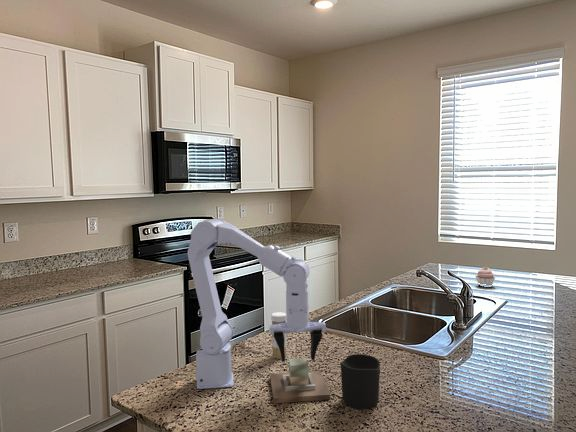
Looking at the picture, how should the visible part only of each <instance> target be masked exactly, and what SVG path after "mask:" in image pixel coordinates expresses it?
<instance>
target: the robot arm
mask: <svg viewBox="0 0 576 432" xmlns="http://www.w3.org/2000/svg"><path fill="white" fill-rule="evenodd" d="M218 244H219V245H221V244H223V245H224V244H233V245H234V246H236V247H238V248H240V249H242V250H243V251H246V252H248V253H249V254H251V255H253V256H254V257H257V258H258V261H259V264H260V265H261V266H262V267H264V268H266V269H268V270H269V271H271V272H273V274H276V275H278V276H279V277H282V278H283V281H284V282H285V285H286V287H285V289H286V290H285V309H286V310H285V314H286V323H281V324H275V325H272V324H269V325H268V330H269V331H268V332H269V336H270V335H271V336H272V334H274V338H275V340H276V342H277V344H278V347H279V349H280V352H281V362H282V363H283V362H286V357H285V353H284V334H283V333H286V334H290V333H291V334H293V333H308V332H309V333H310V359H311V361H315V358H316V353H317V349H318V347H319V344H320V343H321V341H322V339H323V333H325V332H327V324H326V323H325V321H324V322H322V321H319V322H318V321H309V289H308V288H309V285H308V278H309V276H310V267H309V264H308V263H306V262H305V261H304V260H303V259H297V257H296V256H293V255H292V256H291V255H289V254H287V253H285V252H284V251H282V250H281V247H280V246H278V245H277V244H276V245H275V246H274V245H271V244H270V245H267V246H265V245H263V244H261V243H260V242H259V241H257V240H255V239H254V238H252V237H251V236H249V235H248V234H247V233H245V232H243V231H242V230H240V229H239V228H238V227H236V226H235V225H234V224H232V223H230V222H227V221H225V220H224V219H222V218H218V217H217V218H212V219H210V220H202V221H200V222H198V223H197V224H196V225H195V226H194V227H193V228H192V230H191V231H190V241H189V245H188V248H187V249H188V250H187V258H188V261H189V262H188V263H189V266H190V271H191V275H192V278H193V283H194V288H195V292H196V296H197V300H198V306H199V307H200V308H199V310H200V312H201V313H200V314H201V322H200V327H199V331H200V337H199V338H200V339H199V345H200V348H201V349H200V350H197V351H196V356H195V370H196V371H195V378H196V389H198V390H202V389H203V390H204V389H205V390H206V389H217V388H218V389H219V388H233V387H234V372H232V370H233V369H232V345H231V340H232V338H233V336H234V329H233V326H232V324H231V323H230V322H229V320H228V317H227V316H228V315H226V313H224V312H223V310H222V306H221V302H220V297H219V294H218V289H217V286H216V281H215V276H214V273H213V267H212V264H211V259H210V254H211V253H212V251H213V250H214V249H215V248H216V246H217V245H218Z"/></svg>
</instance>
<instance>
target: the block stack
mask: <svg viewBox="0 0 576 432" xmlns="http://www.w3.org/2000/svg"><path fill="white" fill-rule="evenodd" d="M308 372H309V363H308V361H307V358H306V357H296V358H288V373H289V382H290V386H297V385H309V382H308Z"/></svg>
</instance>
